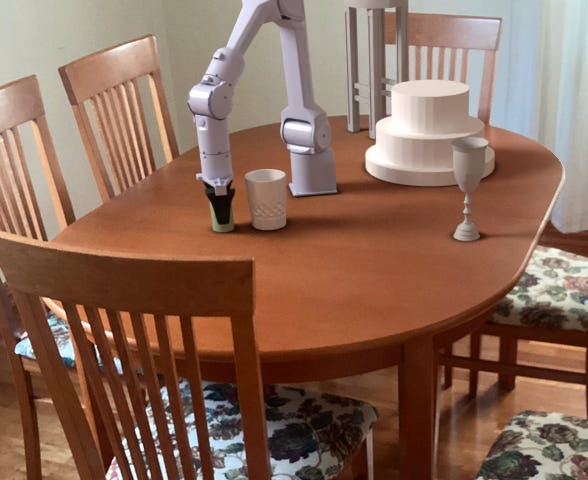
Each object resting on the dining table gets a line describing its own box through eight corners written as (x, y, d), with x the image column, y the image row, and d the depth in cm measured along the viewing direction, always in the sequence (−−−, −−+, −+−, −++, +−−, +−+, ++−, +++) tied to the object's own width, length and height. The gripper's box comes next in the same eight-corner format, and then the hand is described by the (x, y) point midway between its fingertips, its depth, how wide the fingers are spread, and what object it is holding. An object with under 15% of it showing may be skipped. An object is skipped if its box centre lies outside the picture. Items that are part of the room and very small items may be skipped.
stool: (382, 120, 251) (380, -20, 233) (419, 131, 241) (420, -14, 223) (337, 130, 242) (331, -14, 224) (373, 142, 232) (370, -8, 214)
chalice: (473, 245, 172) (476, 150, 163) (441, 238, 175) (443, 144, 166) (491, 233, 177) (495, 140, 168) (460, 226, 181) (462, 135, 171)
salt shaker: (233, 223, 183) (229, 187, 179) (235, 231, 179) (231, 194, 175) (212, 225, 182) (207, 188, 178) (213, 233, 178) (209, 195, 175)
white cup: (297, 222, 184) (293, 173, 178) (272, 234, 178) (268, 184, 173) (266, 215, 187) (262, 166, 182) (241, 227, 182) (236, 177, 176)
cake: (512, 179, 205) (517, 98, 196) (382, 191, 199) (380, 108, 190) (471, 143, 230) (473, 70, 221) (354, 153, 224) (351, 77, 215)
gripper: (191, 141, 178) (199, 209, 185) (195, 163, 166) (204, 234, 173) (228, 139, 179) (235, 206, 186) (234, 160, 167) (241, 231, 174)
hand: (222, 219), depth 180 cm, fingers closed on salt shaker, 4 cm apart
